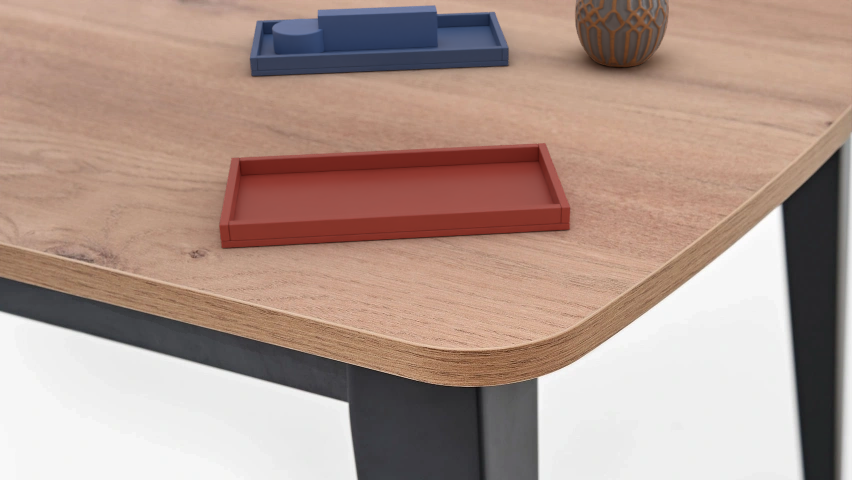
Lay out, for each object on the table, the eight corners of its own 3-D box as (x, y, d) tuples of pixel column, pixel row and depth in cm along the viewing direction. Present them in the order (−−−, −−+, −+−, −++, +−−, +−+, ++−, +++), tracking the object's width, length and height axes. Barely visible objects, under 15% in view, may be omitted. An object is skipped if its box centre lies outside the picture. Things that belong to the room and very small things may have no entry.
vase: (682, 67, 90) (691, -52, 86) (598, 79, 88) (604, -42, 83) (638, 39, 96) (644, -73, 91) (558, 50, 93) (561, -64, 89)
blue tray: (251, 76, 89) (249, 57, 88) (258, 37, 97) (256, 20, 96) (508, 65, 90) (508, 47, 90) (494, 28, 98) (494, 11, 98)
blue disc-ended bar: (435, 35, 96) (434, 0, 94) (439, 52, 92) (438, 16, 91) (275, 41, 94) (271, 6, 93) (273, 58, 91) (269, 22, 90)
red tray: (221, 248, 65) (218, 225, 65) (233, 178, 73) (231, 157, 72) (569, 229, 67) (570, 206, 66) (545, 163, 75) (545, 142, 74)
